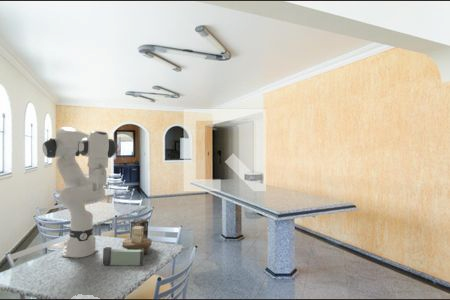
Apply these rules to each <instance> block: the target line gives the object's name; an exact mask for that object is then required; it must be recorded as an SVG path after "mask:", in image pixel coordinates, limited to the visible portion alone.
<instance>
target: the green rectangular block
mask: <svg viewBox="0 0 450 300" xmlns="http://www.w3.org/2000/svg"><path fill="white" fill-rule="evenodd" d="M102 252H103V253H102V265H103V266H109V265H110V266H142V265H143V264H144V256H145V254H144V249H139V250H127V249H120V248H119V249H116V248H115V249H112V247H111V246H107V247H103V251H102Z"/></svg>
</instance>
